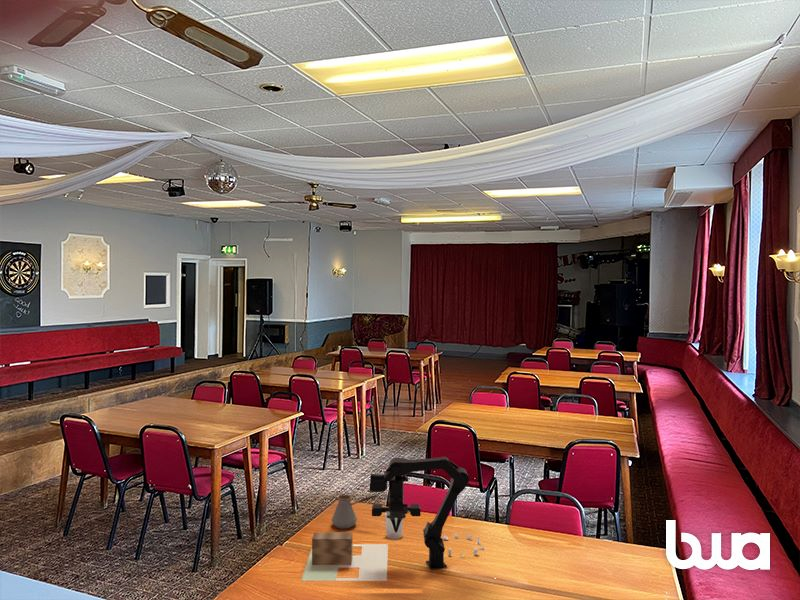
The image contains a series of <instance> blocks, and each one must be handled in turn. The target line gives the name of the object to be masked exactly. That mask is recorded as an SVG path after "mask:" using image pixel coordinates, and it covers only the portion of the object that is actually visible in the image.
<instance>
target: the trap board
mask: <svg viewBox="0 0 800 600" xmlns="http://www.w3.org/2000/svg"><path fill="white" fill-rule="evenodd" d="M352 547H361V554H360V555H359V554H358V555H357V554H355V555H354V554H352V563H351V565H312V547H311V549H310V551H309V555H308V559H307V561H306V564H305V567H304V571H303V574H302V577H301V582H304V581H305V582H360V581H361V582H363V581H364V582H374V581H375V582H384V581H385V582H386V581H388V557H389V556H388V554H389V551H388V550H389V544H387V543H386V544H385V543H380V544H379V543H364V544H363V543H356V544H355V543H354V544H353V543H352ZM340 568H342V569H343V568H346V569H347V568H351V569H352V568H354V569H355V568H358V569H359V570H358V577H338V571H339V569H340Z"/></svg>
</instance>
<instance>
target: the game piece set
mask: <svg viewBox="0 0 800 600" xmlns="http://www.w3.org/2000/svg"><path fill="white" fill-rule="evenodd" d="M442 534H443V533H442ZM465 534H466V535H465V537H466V539H467V540H470V541H471V540H473V537H472V536H473V535H469V533H468V532H467V531H466V532H465ZM453 538H454V539H459V534H458V533H455V534H454V536H453ZM476 538H477V540H476V541H475V542H476V543H475V544H476V545H478V546H480V548H477V547H475V548H474V549H473V551H472V553H473V554H474V556H476V555H477V553H478V552H479V550H485V547H484V546H481V544H482V542H480V536H479V535H477V537H476ZM442 539H443V540H444V541H447V540H449V537H448V536H447V535H446V534H445V533H444V534H443V537H442ZM447 554H448V556H449V557H450V556H451V555H452V548H450V547H449V548H448V551H447ZM459 556H461V558H466V556H465V555H464V554H463V555H462V554H461V553H460V554H459Z"/></svg>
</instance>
